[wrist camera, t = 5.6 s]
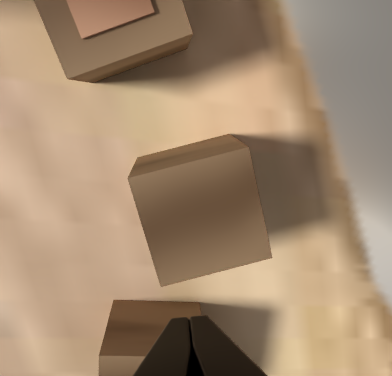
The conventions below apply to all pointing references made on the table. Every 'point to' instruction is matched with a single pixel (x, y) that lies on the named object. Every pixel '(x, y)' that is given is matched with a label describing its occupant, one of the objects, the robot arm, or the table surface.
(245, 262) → the plain block
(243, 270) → the table surface
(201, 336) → the robot arm
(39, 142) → the table surface
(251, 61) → the table surface
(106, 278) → the table surface
